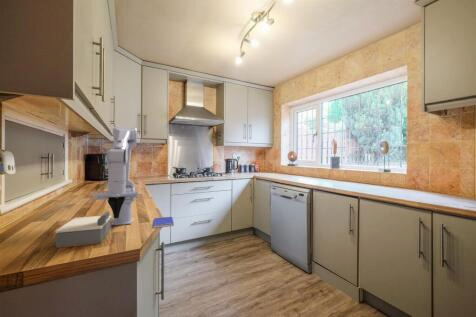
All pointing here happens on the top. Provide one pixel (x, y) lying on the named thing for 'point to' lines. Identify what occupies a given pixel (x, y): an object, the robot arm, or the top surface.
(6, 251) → the top surface
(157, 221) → the hard drive
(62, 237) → the box
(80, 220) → the mailer lid
